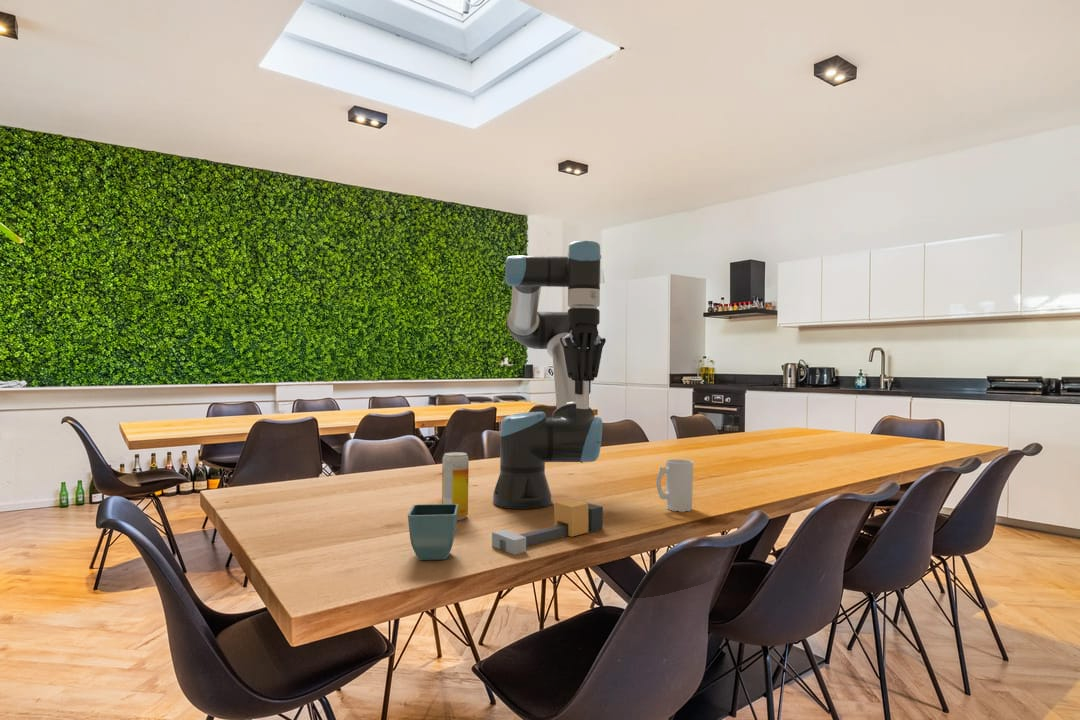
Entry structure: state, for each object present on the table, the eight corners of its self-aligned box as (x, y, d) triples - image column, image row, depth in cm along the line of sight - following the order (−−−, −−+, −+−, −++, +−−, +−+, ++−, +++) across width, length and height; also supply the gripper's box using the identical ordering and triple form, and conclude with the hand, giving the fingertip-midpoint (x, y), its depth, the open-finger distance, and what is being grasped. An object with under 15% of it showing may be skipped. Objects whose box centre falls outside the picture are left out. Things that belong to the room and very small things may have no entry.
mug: (682, 504, 159) (683, 458, 159) (698, 511, 152) (698, 462, 152) (649, 508, 155) (649, 460, 155) (663, 514, 149) (664, 465, 149)
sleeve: (571, 536, 128) (571, 507, 128) (554, 531, 132) (554, 502, 132) (588, 532, 132) (588, 503, 132) (570, 526, 136) (570, 499, 136)
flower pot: (412, 549, 120) (413, 503, 120) (458, 548, 121) (458, 503, 121) (406, 564, 111) (407, 515, 111) (455, 563, 112) (456, 514, 112)
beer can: (472, 516, 145) (473, 452, 145) (458, 522, 140) (459, 456, 140) (451, 513, 148) (451, 451, 148) (436, 518, 142) (437, 454, 142)
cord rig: (514, 554, 117) (514, 528, 117) (491, 546, 122) (492, 521, 122) (605, 530, 134) (606, 507, 134) (583, 523, 140) (583, 501, 140)
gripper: (574, 305, 137) (572, 411, 137) (614, 308, 145) (613, 408, 145) (552, 307, 142) (551, 408, 143) (592, 310, 151) (591, 405, 151)
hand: (582, 408), depth 144 cm, fingers closed
